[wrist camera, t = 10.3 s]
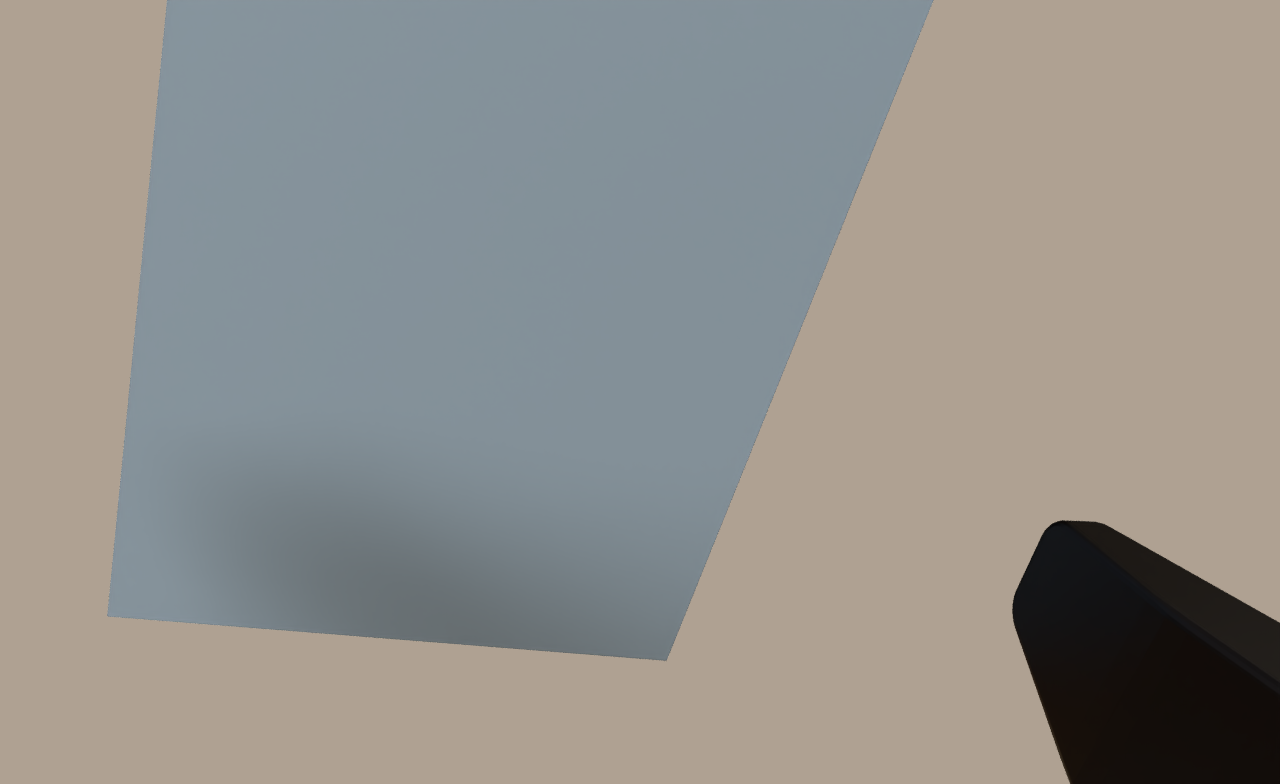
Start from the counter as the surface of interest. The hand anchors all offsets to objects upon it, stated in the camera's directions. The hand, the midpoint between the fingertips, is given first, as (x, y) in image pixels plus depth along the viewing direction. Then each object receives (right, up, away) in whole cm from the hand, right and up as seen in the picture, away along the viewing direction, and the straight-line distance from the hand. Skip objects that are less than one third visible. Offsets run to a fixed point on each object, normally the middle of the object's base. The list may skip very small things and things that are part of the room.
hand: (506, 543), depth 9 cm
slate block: (-1, +4, +6) cm, 8 cm away
